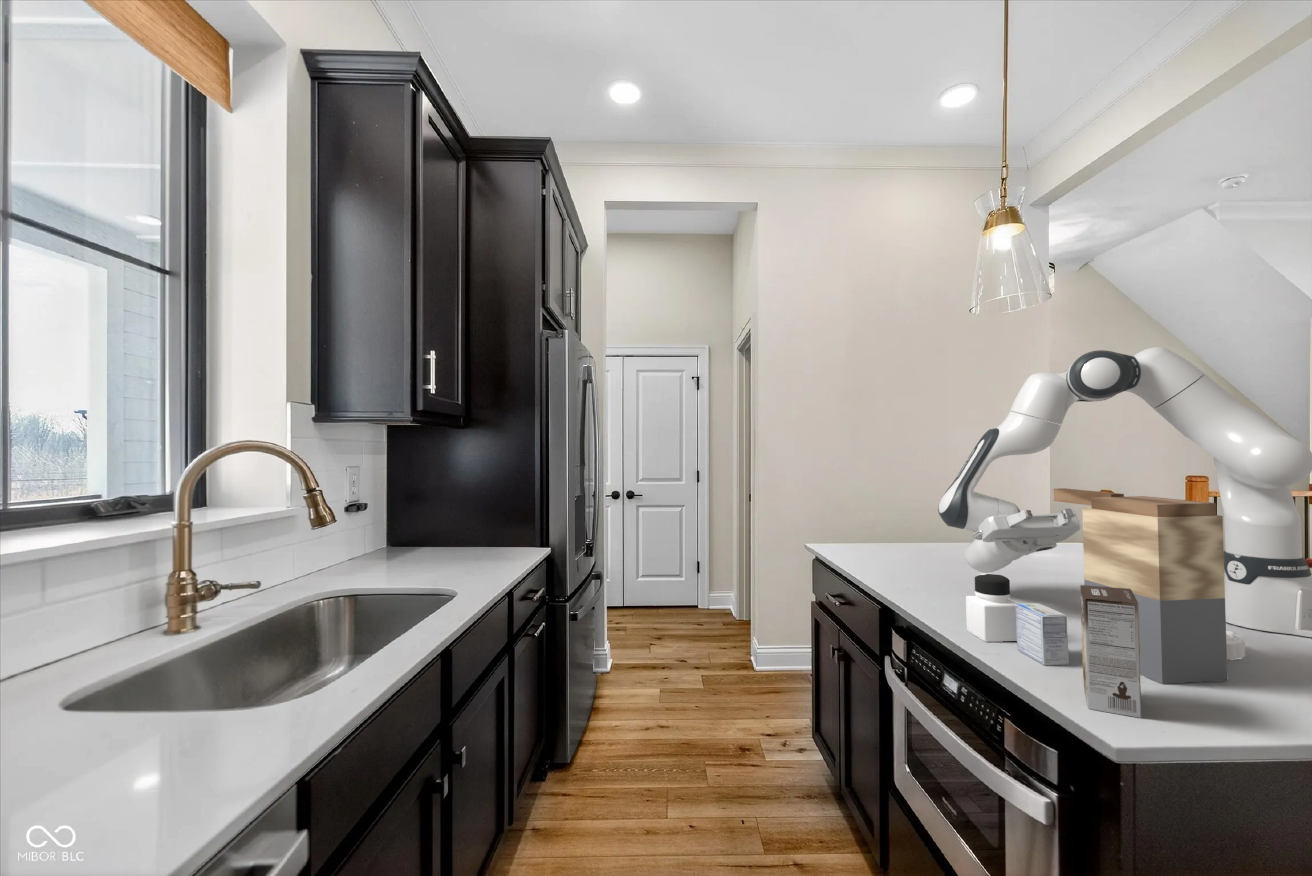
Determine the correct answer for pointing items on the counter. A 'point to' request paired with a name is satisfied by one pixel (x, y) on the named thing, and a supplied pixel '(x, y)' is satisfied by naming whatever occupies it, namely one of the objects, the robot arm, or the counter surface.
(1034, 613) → the medicine box
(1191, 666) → the tower base block
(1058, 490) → the walnut board
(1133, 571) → the tower top block
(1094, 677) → the coffee box
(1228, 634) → the mooncake
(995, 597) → the medicine bottle
